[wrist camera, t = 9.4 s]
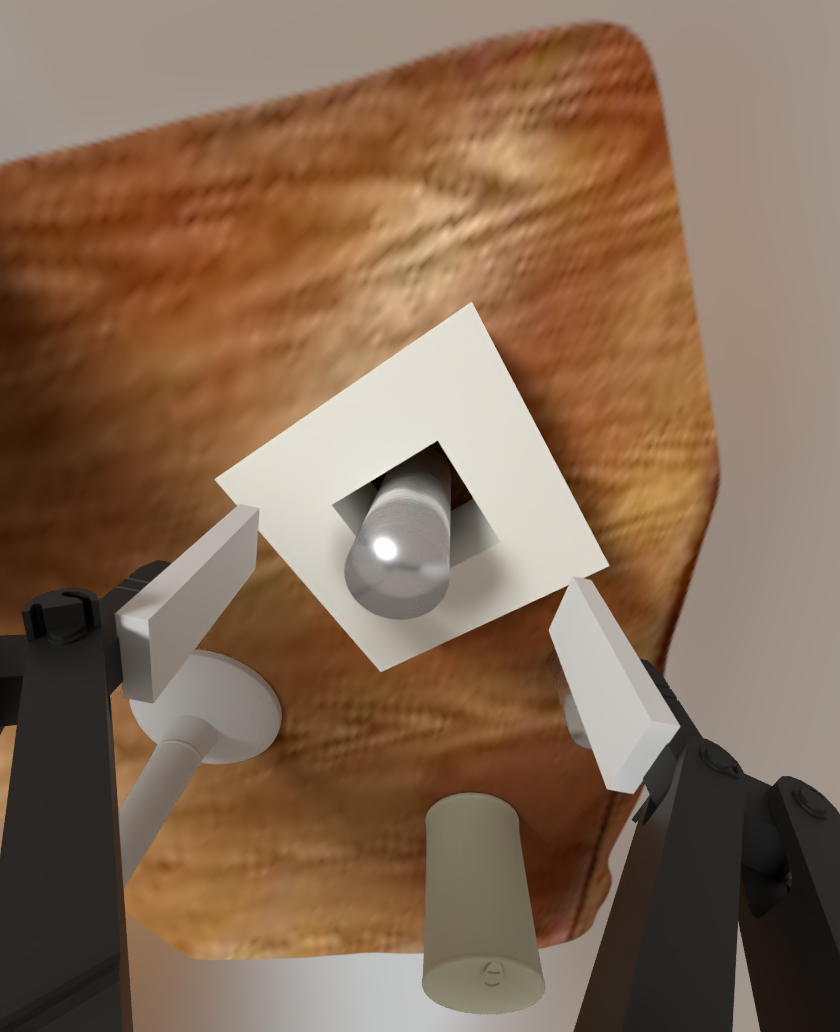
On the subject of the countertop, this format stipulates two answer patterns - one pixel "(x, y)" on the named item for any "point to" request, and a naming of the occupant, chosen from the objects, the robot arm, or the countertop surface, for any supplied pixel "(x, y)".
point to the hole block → (391, 440)
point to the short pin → (567, 702)
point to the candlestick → (194, 739)
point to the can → (478, 909)
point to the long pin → (405, 541)
